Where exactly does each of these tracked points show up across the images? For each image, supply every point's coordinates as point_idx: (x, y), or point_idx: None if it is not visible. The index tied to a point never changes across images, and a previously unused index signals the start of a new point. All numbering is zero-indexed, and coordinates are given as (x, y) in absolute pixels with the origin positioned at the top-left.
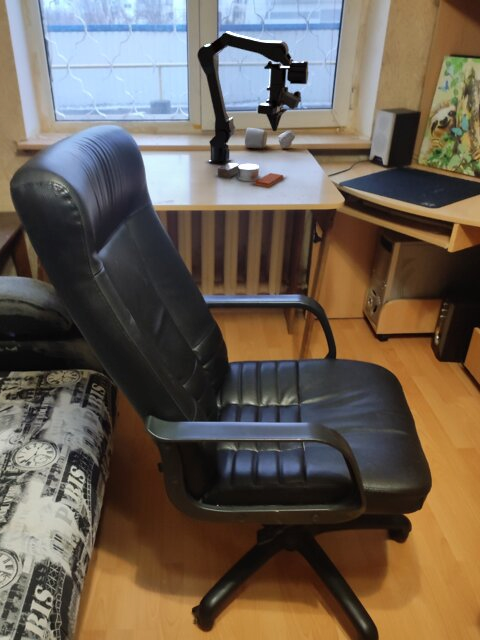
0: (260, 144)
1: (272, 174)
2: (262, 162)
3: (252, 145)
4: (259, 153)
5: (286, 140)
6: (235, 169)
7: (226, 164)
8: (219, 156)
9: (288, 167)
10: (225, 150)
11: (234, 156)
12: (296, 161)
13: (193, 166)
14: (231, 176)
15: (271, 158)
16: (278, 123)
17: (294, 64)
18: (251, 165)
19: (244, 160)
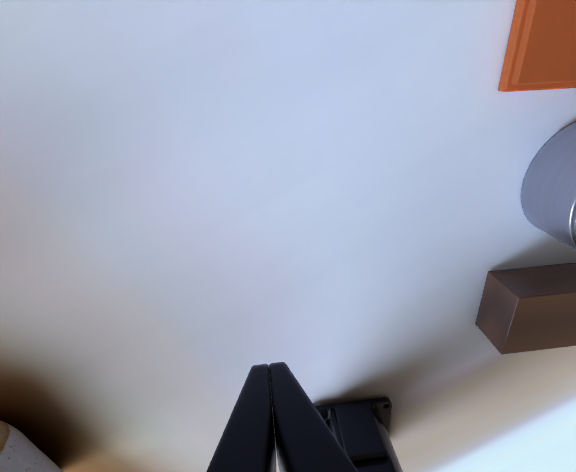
0: (16, 442)
1: (550, 48)
2: (242, 281)
3: (49, 463)
4: (90, 384)
5: None
6: (552, 283)
7: (539, 345)
8: (389, 442)
9: (246, 73)
10: (386, 457)
11: None
12: (57, 100)
13: (456, 450)
14: (571, 264)
15: (128, 285)
16: (233, 452)
17: None
18: None
19: None
